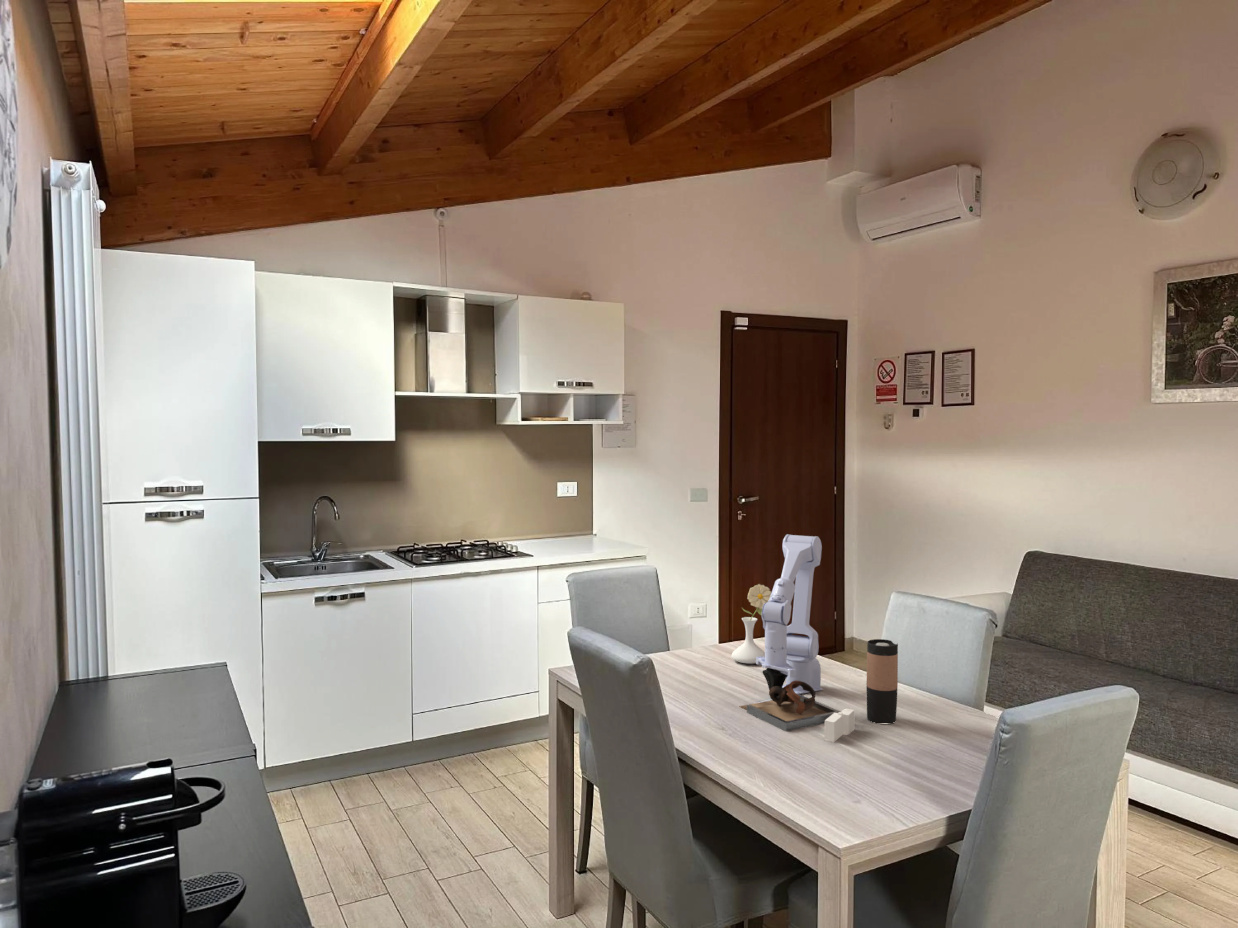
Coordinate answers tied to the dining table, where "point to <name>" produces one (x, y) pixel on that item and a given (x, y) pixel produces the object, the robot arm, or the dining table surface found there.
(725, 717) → the dining table surface
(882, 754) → the dining table surface
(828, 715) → the curbs
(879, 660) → the travel mug
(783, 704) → the brown flat board
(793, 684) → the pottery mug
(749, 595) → the flower in vase
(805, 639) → the robot arm
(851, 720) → the white stepped block
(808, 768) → the dining table surface
